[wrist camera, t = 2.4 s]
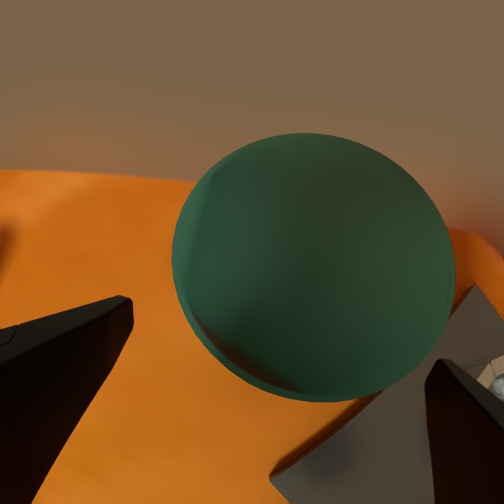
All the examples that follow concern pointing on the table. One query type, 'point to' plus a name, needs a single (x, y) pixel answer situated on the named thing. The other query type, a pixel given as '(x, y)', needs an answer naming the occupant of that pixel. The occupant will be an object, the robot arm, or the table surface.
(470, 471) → the robot arm
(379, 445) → the hub
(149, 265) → the table surface
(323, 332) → the travel tumbler
